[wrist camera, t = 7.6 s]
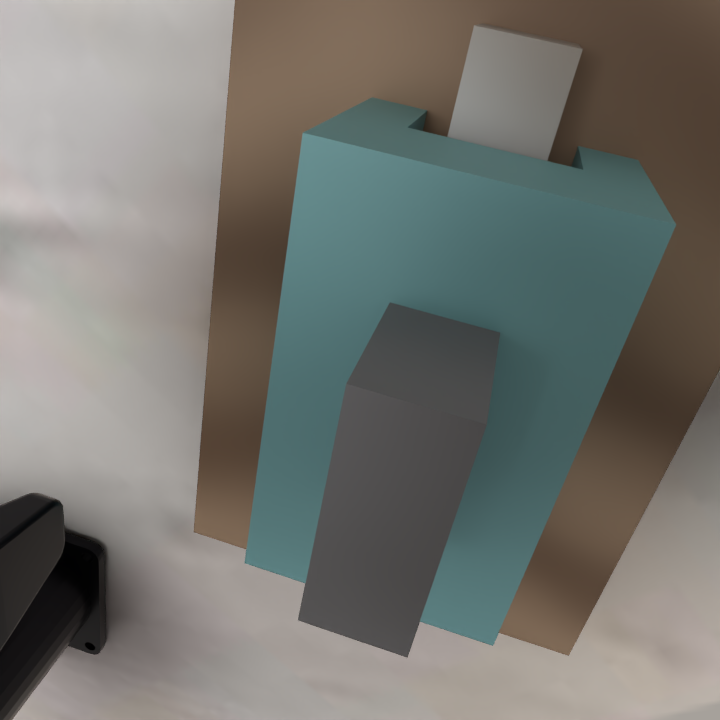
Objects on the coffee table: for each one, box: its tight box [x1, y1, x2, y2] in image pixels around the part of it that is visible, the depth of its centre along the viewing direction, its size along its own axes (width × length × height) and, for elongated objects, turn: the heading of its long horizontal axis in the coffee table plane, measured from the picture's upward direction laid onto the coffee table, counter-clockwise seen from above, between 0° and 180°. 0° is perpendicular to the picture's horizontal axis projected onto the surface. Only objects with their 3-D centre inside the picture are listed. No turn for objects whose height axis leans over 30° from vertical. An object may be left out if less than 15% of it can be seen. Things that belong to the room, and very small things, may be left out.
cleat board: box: [194, 0, 720, 656], centre depth 17 cm, size 20×13×4 cm, turn 169°
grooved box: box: [245, 97, 676, 657], centre depth 14 cm, size 10×6×8 cm, turn 169°
